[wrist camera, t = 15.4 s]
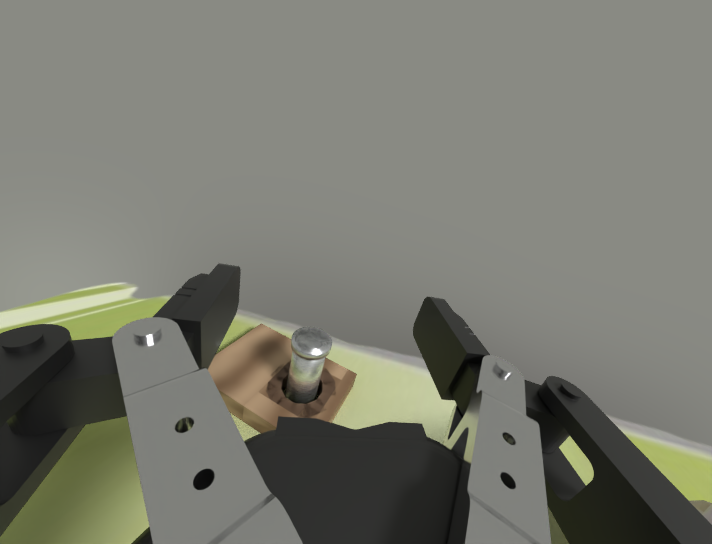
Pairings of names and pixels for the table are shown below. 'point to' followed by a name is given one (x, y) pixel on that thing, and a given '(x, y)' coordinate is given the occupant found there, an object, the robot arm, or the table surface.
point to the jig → (272, 381)
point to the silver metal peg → (307, 363)
